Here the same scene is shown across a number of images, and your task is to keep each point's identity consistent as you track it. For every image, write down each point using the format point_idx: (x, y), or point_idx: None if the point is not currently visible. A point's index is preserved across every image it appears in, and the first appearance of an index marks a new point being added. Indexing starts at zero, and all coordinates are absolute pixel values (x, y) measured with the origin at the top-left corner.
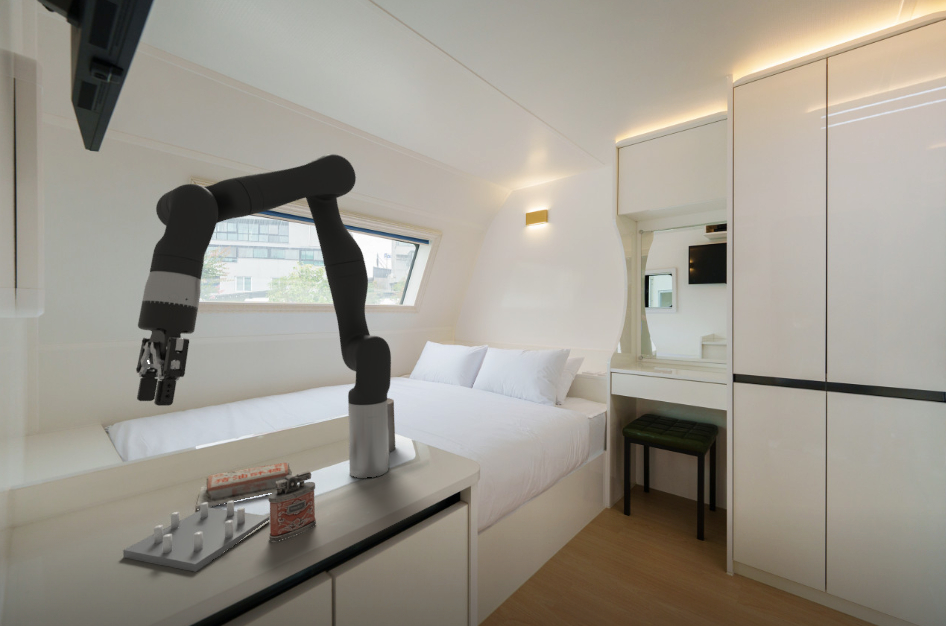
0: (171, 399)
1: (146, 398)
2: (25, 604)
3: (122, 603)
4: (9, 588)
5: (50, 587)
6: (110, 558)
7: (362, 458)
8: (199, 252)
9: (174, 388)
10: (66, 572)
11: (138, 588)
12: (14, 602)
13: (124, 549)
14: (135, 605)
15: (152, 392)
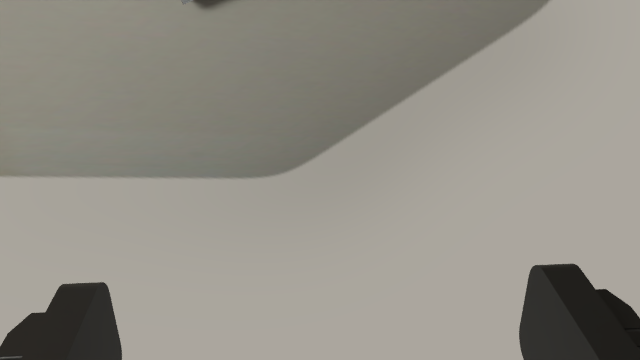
0: (625, 305)
1: (108, 333)
2: (252, 158)
3: (424, 40)
4: (149, 175)
5: (214, 126)
6: (162, 19)
7: None
8: None
9: (636, 356)
10: (161, 99)
11: (392, 4)
12: (225, 170)
13: (183, 2)
14: (459, 23)
15: (83, 342)
